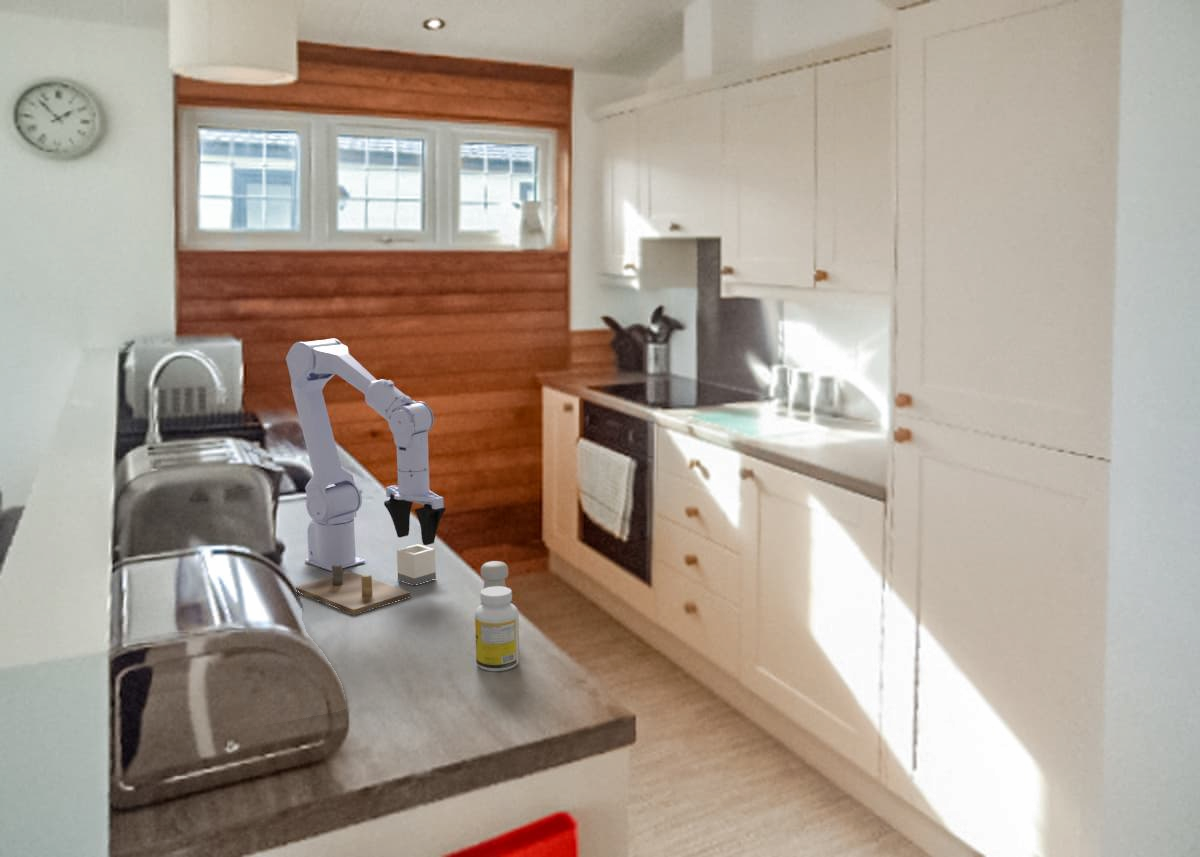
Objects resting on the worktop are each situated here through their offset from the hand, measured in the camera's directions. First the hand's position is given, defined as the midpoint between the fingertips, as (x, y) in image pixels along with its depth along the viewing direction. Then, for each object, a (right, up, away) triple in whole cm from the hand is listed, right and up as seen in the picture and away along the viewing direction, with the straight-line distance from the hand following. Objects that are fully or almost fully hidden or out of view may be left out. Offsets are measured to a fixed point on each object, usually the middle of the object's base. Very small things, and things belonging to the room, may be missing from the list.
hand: (415, 540), depth 200 cm
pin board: (-10, -9, -7) cm, 15 cm away
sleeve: (0, -8, +1) cm, 8 cm away
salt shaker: (+18, -13, -29) cm, 37 cm away
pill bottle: (+19, -15, -38) cm, 45 cm away
